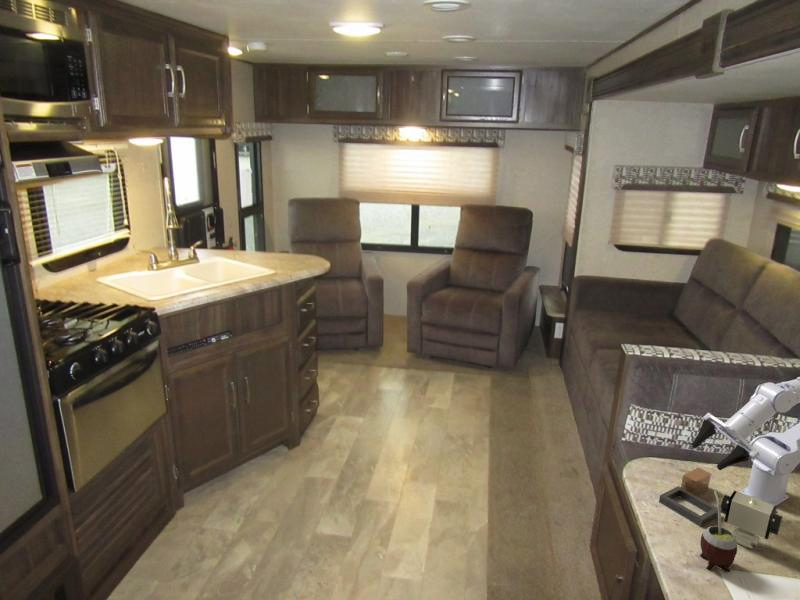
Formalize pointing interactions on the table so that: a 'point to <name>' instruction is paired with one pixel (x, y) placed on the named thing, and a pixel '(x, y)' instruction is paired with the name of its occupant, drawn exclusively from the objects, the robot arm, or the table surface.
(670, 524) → the table surface
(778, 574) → the table surface
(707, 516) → the duct collar
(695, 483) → the brown rectangular block
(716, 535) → the mate gourd
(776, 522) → the pneumatic valve
